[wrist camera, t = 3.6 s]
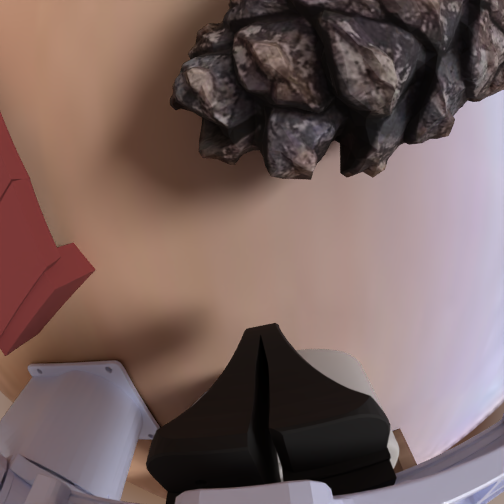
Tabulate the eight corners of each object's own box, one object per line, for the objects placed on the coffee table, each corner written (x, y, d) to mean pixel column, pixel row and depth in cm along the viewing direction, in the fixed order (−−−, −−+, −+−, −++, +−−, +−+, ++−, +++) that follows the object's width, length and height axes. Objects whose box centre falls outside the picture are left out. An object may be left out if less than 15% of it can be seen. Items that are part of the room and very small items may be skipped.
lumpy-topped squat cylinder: (167, 419, 19) (144, 517, 11) (302, 311, 16) (344, 437, 8) (266, 468, 21) (272, 550, 13) (392, 389, 19) (438, 479, 10)
